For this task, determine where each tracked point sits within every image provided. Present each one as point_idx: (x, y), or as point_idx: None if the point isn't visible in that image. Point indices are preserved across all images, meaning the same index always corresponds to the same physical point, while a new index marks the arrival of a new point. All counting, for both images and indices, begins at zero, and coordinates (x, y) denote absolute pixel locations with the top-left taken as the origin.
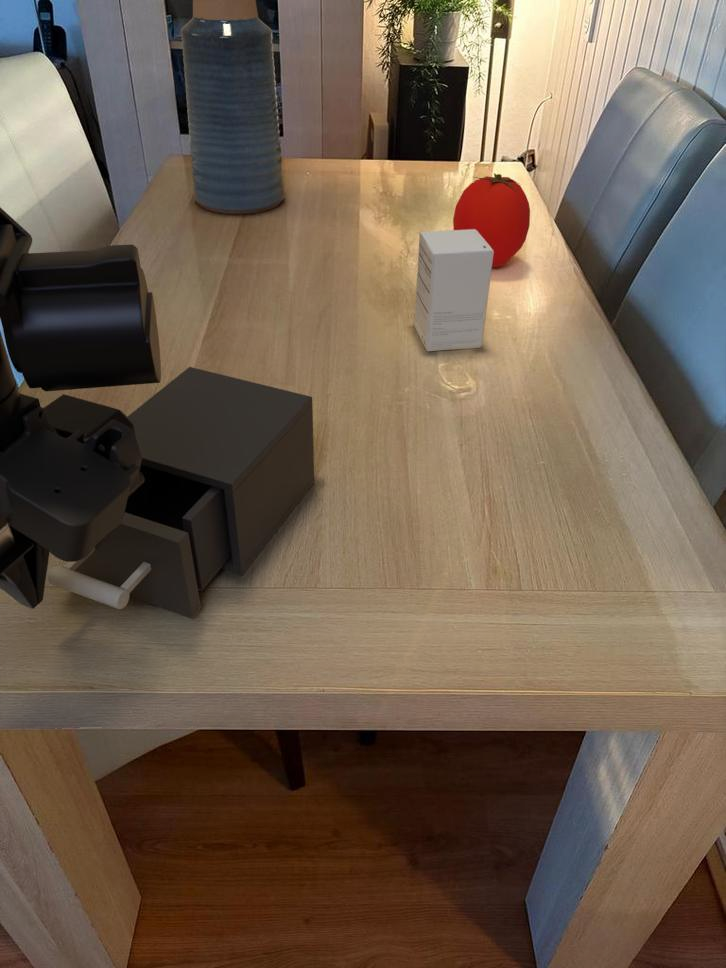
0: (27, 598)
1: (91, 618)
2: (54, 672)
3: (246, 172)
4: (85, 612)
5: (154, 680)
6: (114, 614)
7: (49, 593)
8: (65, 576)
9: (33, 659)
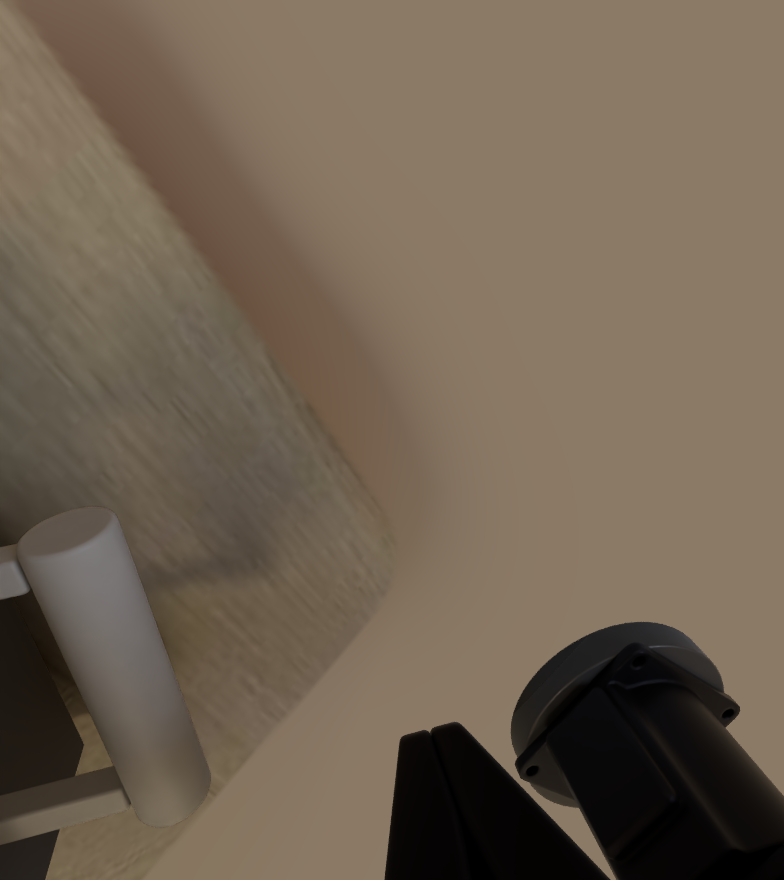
0: (528, 798)
1: None
2: (332, 518)
3: None
4: None
5: (175, 266)
6: None
7: None
8: (165, 769)
9: (334, 586)
